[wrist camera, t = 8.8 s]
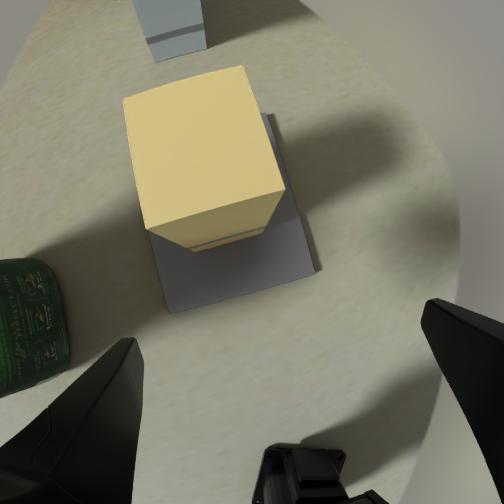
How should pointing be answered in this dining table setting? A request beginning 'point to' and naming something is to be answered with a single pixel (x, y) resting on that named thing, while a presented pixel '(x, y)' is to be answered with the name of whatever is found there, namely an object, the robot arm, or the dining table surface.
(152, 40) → the knobbed pale slab
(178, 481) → the dining table surface
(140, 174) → the block
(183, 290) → the mat
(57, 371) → the coffee jar
